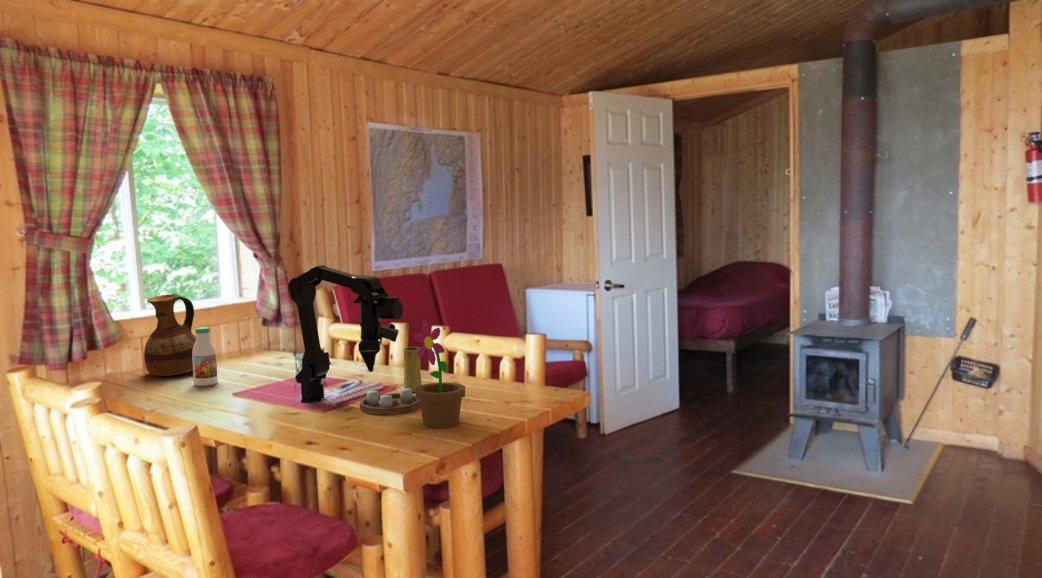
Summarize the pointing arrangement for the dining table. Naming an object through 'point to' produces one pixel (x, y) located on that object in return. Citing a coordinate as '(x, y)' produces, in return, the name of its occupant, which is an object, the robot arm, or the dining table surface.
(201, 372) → the milk bottle
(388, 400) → the bead
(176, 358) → the ceramic pitcher
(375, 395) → the bead
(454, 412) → the flowerpot
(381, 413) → the tray
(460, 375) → the dining table surface
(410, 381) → the vase
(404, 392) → the bead seated
